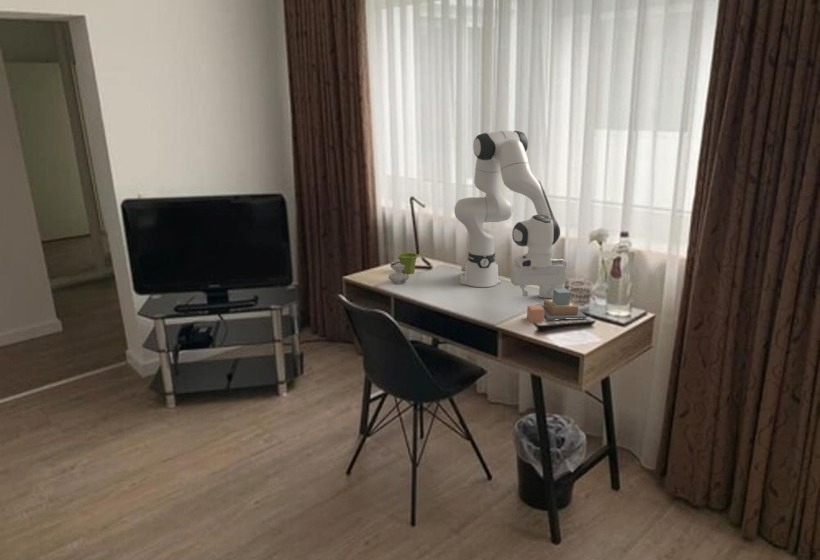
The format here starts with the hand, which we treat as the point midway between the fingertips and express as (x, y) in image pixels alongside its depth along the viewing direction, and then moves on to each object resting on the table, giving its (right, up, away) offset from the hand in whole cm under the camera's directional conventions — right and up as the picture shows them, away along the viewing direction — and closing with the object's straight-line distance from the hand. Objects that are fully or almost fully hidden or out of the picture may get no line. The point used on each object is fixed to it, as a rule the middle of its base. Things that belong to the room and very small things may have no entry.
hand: (537, 295), depth 223 cm
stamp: (-53, +4, +47) cm, 71 cm away
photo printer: (+12, -2, +29) cm, 31 cm away
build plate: (+11, -7, +10) cm, 17 cm away
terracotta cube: (0, -9, +3) cm, 10 cm away
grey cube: (+11, -3, +9) cm, 15 cm away
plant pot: (-49, +9, +63) cm, 80 cm away
